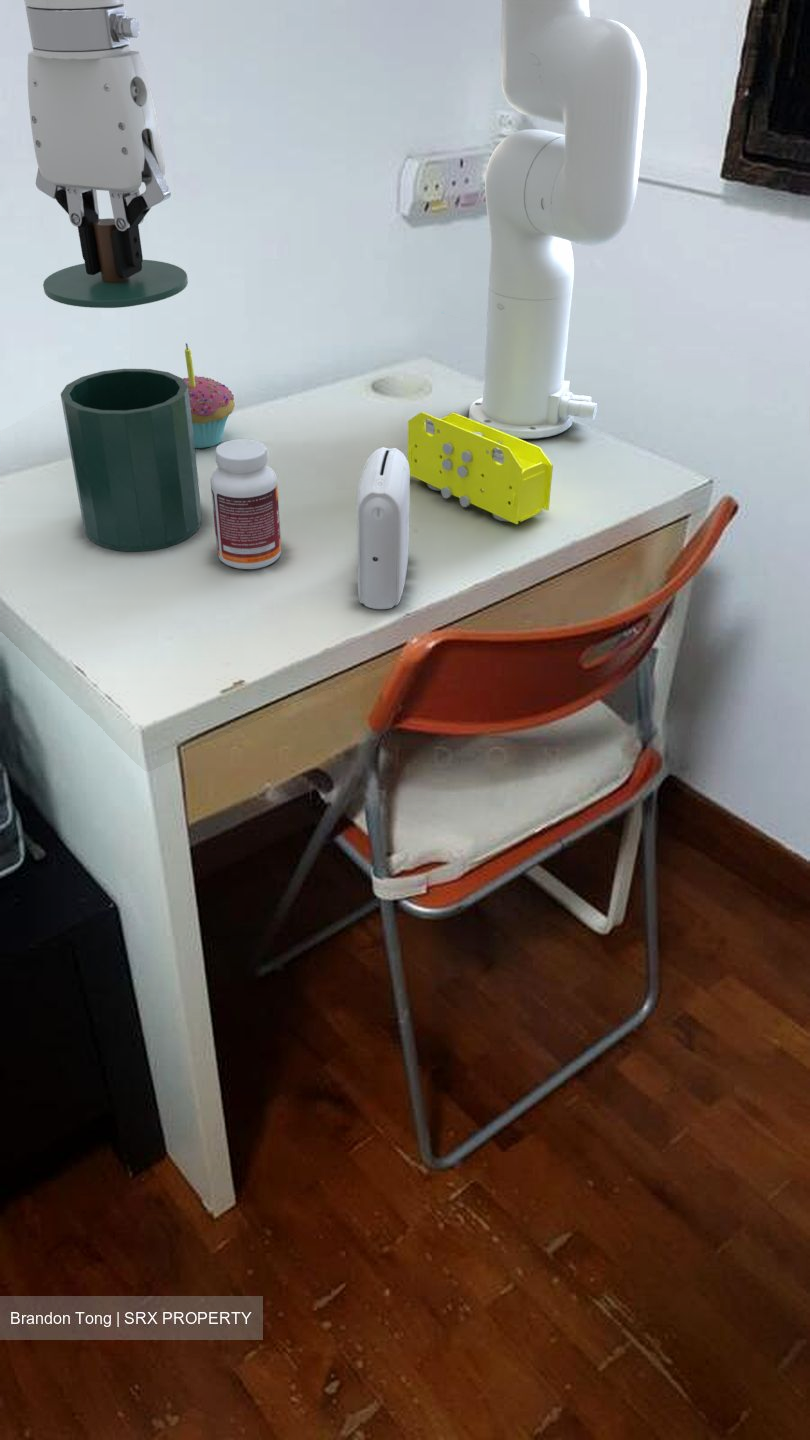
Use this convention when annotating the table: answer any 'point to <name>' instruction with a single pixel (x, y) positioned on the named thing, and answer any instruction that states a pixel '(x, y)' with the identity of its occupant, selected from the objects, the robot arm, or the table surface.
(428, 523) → the table surface
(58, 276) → the tin lid
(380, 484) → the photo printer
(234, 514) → the pill bottle
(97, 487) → the tin
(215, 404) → the cupcake
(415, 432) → the yellow toy chassis
